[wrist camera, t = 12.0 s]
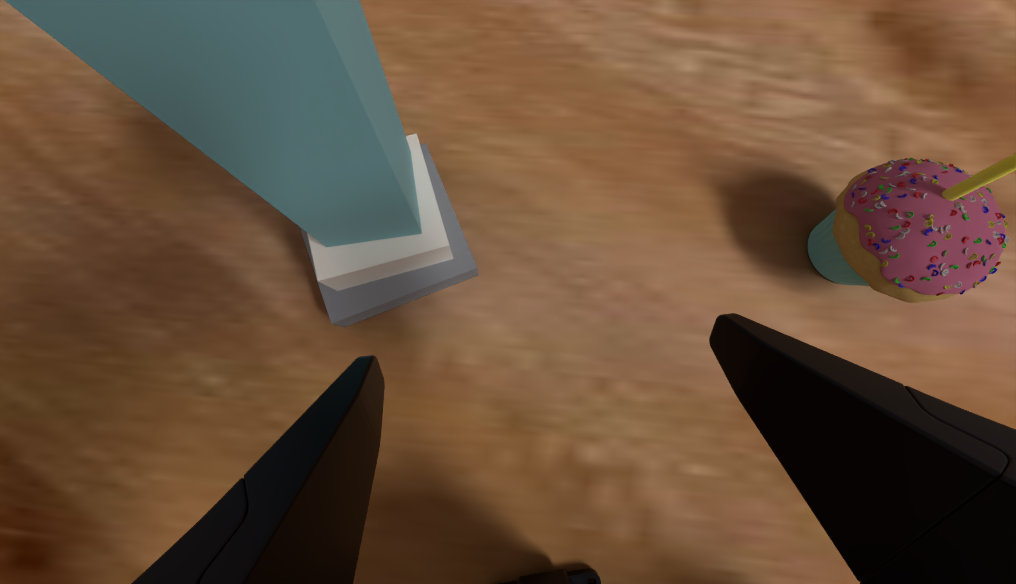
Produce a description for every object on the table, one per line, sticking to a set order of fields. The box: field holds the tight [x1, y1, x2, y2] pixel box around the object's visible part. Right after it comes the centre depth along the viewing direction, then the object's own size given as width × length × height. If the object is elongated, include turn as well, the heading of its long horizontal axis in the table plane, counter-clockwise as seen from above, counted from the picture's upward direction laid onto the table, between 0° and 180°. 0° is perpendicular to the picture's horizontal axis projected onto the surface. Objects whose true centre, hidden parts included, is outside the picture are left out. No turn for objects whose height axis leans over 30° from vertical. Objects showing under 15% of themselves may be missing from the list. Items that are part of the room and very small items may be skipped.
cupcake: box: [807, 153, 1016, 303], centre depth 20 cm, size 9×8×12 cm
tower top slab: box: [307, 134, 453, 291], centre depth 21 cm, size 7×7×2 cm
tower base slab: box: [300, 143, 478, 327], centre depth 23 cm, size 9×9×2 cm
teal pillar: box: [5, 0, 422, 247], centre depth 13 cm, size 5×5×13 cm
